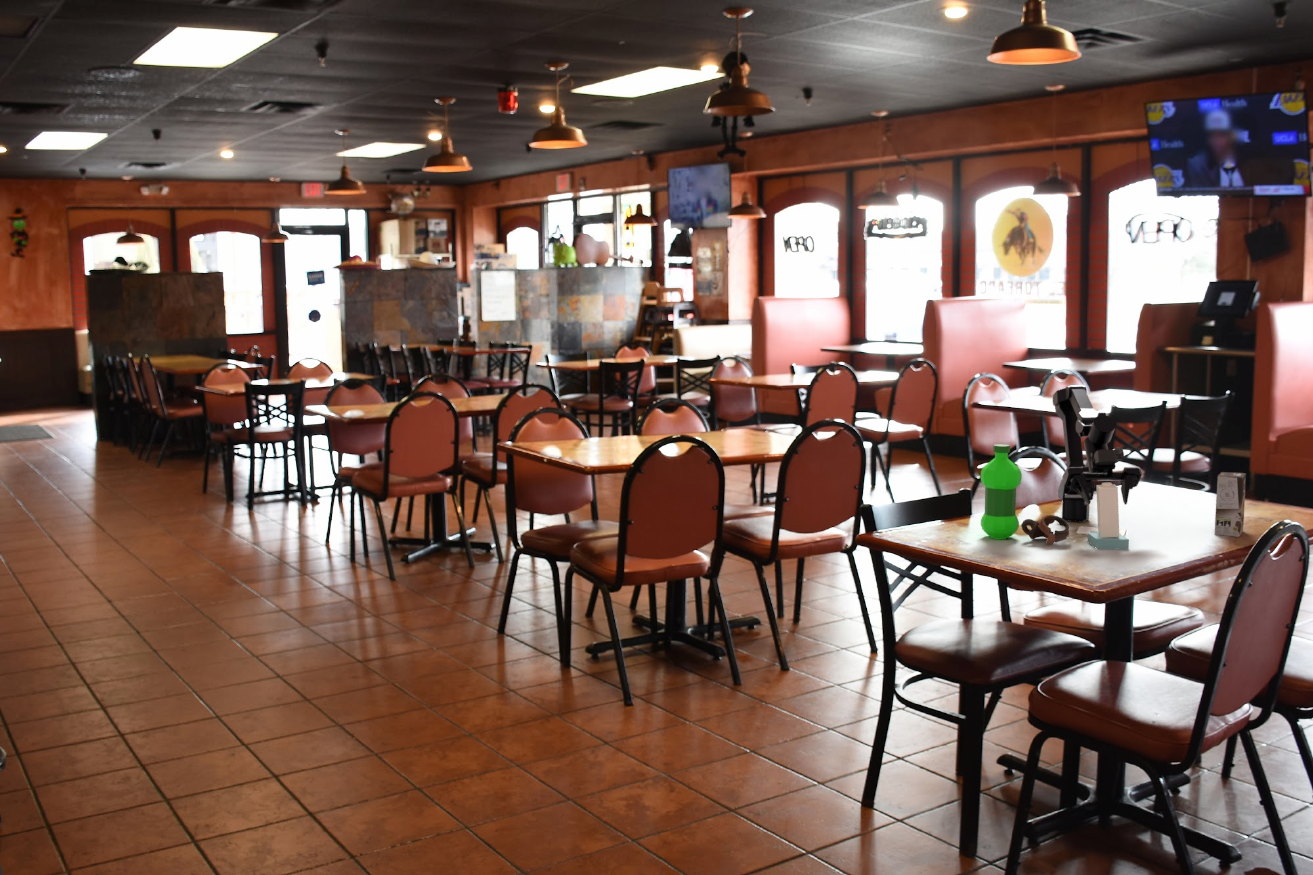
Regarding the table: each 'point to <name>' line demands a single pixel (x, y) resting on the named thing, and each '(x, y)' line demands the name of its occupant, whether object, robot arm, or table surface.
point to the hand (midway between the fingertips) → (1107, 503)
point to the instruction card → (1094, 530)
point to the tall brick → (1107, 510)
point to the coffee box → (1230, 504)
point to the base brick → (1108, 541)
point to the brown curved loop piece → (1046, 529)
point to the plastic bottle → (1000, 494)
